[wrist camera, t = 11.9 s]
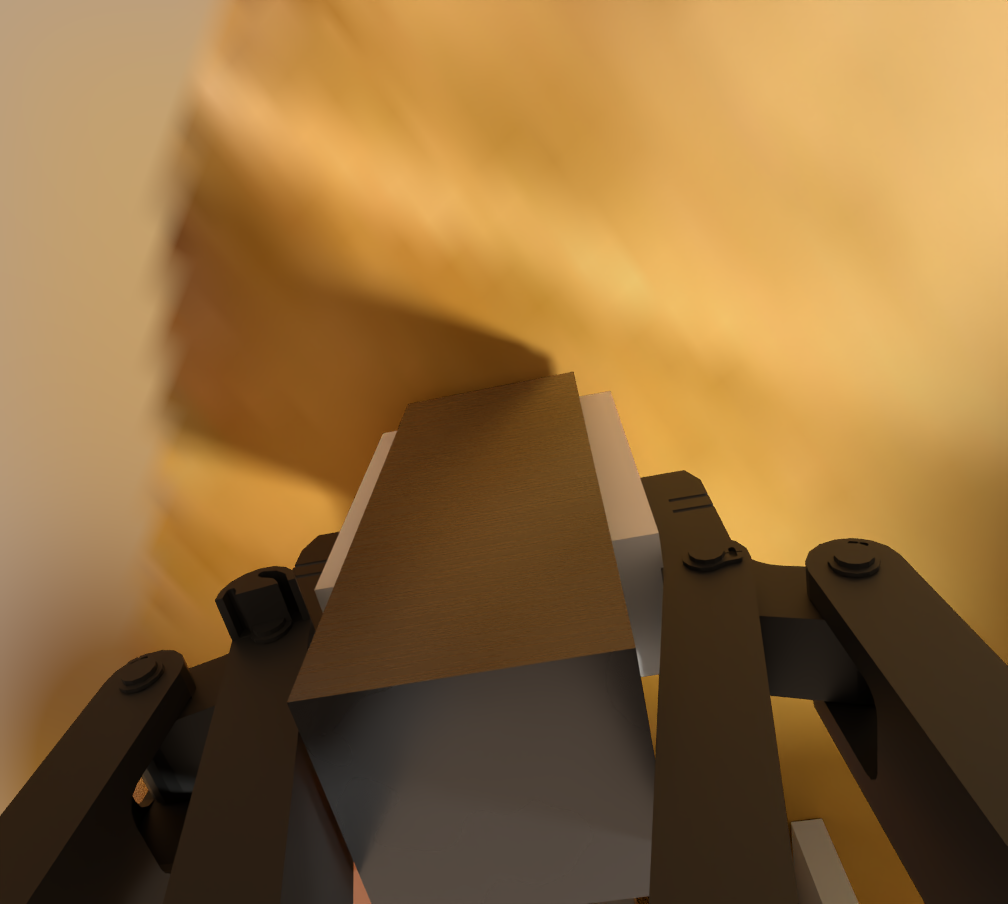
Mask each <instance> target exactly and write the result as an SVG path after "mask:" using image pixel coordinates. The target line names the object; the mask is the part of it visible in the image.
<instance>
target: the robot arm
mask: <svg viewBox="0 0 1008 904" xmlns="http://www.w3.org/2000/svg"><path fill="white" fill-rule="evenodd" d="M579 399H580V403H581V408H582V412H583V416H584V421H585V425H586V430H587V434H588V439H589V443H590V447H591V452H592V456H593V461H594V465H595V470H596V474H597V478H598V483H599V487H600V492H601V496H602V501H603V505H604V509H605V514H606V518H607V523H608V527H609V532H610V536H611V540H612V545H613V549H614V554H615V558H616V563H617V567H618V571H619V576H620V580H621V585H622V589H623V594H624V598H625V602H626V607H627V611H628V616H629V620H630V625H631V629H632V633H633V638H634V642H635V647H636V652H637V658H638V664H639V670H640V675H641V677H644V676H651V675H658V674H659V691H658V713H657V735H656V757H655V778H654V800H653V822H652V844H651V866H650V888H649V904H799V902H798V895H797V887H796V880H795V873H794V866H793V858H792V851H791V844H790V837H789V829H788V822H787V815H786V807H785V800H784V793H783V786H782V778H781V771H780V764H779V757H778V749H777V742H776V735H775V728H774V720H773V713H772V706H771V699H770V696H780V697H789V698H799V699H809V700H813V703H814V706H815V709H816V710H817V712H818V714H819V716H820V718H821V719H822V721H823V723H824V725H825V727H826V728H827V730H828V732H829V734H830V735H831V737H832V739H833V741H834V743H835V744H836V746H837V748H838V750H839V751H840V753H841V755H842V757H843V759H844V760H845V762H846V764H847V766H848V767H849V769H850V771H851V773H852V775H853V776H854V778H855V780H856V782H857V783H858V785H859V787H860V789H861V791H862V792H863V794H864V796H865V798H866V799H867V801H868V803H869V805H870V807H871V808H872V810H873V812H874V814H875V816H876V817H877V819H878V821H879V823H880V824H881V826H882V828H883V830H884V832H885V833H886V835H887V837H888V839H889V840H890V842H891V844H892V846H893V848H894V849H895V851H896V853H897V855H898V856H899V858H900V860H901V862H902V864H903V865H904V867H905V869H906V871H907V872H908V874H909V876H910V878H911V880H912V881H913V883H914V885H915V887H916V888H917V890H918V892H919V894H920V896H921V897H922V899H923V901H924V903H925V904H1008V666H1007V665H1006V664H1005V663H1004V662H1003V661H1002V660H1001V659H1000V658H999V656H998V655H997V654H996V653H995V652H994V651H993V650H992V649H991V648H990V647H989V646H988V645H987V644H986V643H985V642H984V641H983V640H982V639H981V638H980V637H979V636H978V635H977V634H976V633H975V632H974V631H973V630H972V629H971V628H970V626H969V625H968V624H967V623H966V622H965V621H964V620H963V619H962V618H961V617H960V616H959V615H958V614H957V613H956V612H955V611H954V610H953V609H952V608H951V607H950V606H949V605H948V604H947V603H946V602H945V601H944V600H943V599H942V597H941V596H940V595H939V594H938V593H937V592H936V591H935V590H934V589H933V588H932V587H931V586H930V585H929V584H928V583H927V582H926V581H925V580H924V579H923V578H922V577H921V576H920V575H919V574H918V573H917V572H916V571H915V570H914V568H913V567H912V566H911V565H910V564H909V563H908V562H907V561H906V560H905V559H904V558H903V557H902V556H901V555H900V554H899V553H897V552H896V551H894V550H893V549H891V548H890V547H888V546H886V545H883V544H880V543H877V542H874V541H871V540H864V539H854V538H849V539H838V540H832V541H829V542H826V543H823V544H819V545H818V546H817V547H815V548H814V549H813V550H811V551H810V552H809V554H808V556H807V558H806V561H805V565H806V567H801V566H779V565H770V564H765V563H761V562H757V561H755V560H752V559H751V556H750V554H749V552H748V550H747V548H745V547H744V546H742V545H741V544H739V543H738V542H736V541H733V540H731V539H730V537H729V535H728V533H727V531H726V529H725V527H724V525H723V523H722V521H721V519H720V517H719V515H718V513H717V511H716V509H715V507H714V506H713V503H712V501H711V499H710V497H709V496H708V495H707V492H706V490H705V488H704V486H703V484H702V482H701V480H700V479H698V478H697V477H695V476H693V475H691V474H690V473H688V472H686V471H685V470H683V471H677V472H671V473H665V474H660V475H654V476H648V477H642V478H640V476H639V473H638V471H637V468H636V465H635V462H634V459H633V456H632V453H631V450H630V447H629V444H628V441H627V438H626V435H625V432H624V429H623V427H622V424H621V421H620V418H619V415H618V412H617V409H616V406H615V403H614V400H613V397H612V394H611V391H608V392H602V393H597V394H591V395H586V396H581V397H579ZM396 433H397V431H393V432H387V433H383V435H382V437H381V439H380V442H379V444H378V446H377V448H376V451H375V453H374V455H373V457H372V460H371V462H370V464H369V467H368V469H367V471H366V473H365V476H364V478H363V480H362V483H361V485H360V487H359V489H358V492H357V494H356V496H355V498H354V501H353V503H352V505H351V508H350V510H349V512H348V514H347V517H346V519H345V521H344V524H343V526H342V528H341V530H340V532H336V533H330V534H324V535H319V536H317V537H316V538H315V539H314V540H313V541H312V542H311V543H310V544H309V545H308V546H306V547H305V548H304V549H303V550H302V552H301V554H300V556H299V558H298V560H297V562H296V564H295V568H293V570H290V569H288V568H287V567H278V566H273V567H267V568H262V569H258V570H255V571H253V572H250V573H247V574H245V575H243V576H241V577H239V578H238V579H236V580H234V581H232V582H231V583H230V584H228V585H227V586H226V587H225V588H224V589H222V590H221V591H220V593H219V594H218V596H217V598H216V599H215V602H216V604H217V607H218V609H219V611H220V614H221V616H222V618H223V620H224V623H225V625H226V627H227V629H228V632H229V634H230V636H231V639H232V644H231V648H230V652H229V654H226V655H224V656H222V657H219V658H217V659H214V660H211V661H208V662H206V663H203V664H200V665H197V666H195V667H192V668H188V666H187V664H186V662H185V660H184V658H183V656H182V654H180V653H178V652H176V651H174V650H161V651H157V652H153V653H148V654H145V655H142V656H140V657H139V658H138V657H137V658H135V659H133V660H131V661H130V662H128V663H127V664H126V665H125V666H123V667H122V668H120V669H119V670H117V671H116V672H115V673H114V674H113V675H112V676H111V677H110V678H109V679H108V680H107V681H106V682H105V683H104V684H103V686H102V687H101V688H100V690H99V691H98V692H97V693H96V695H95V696H94V697H93V698H92V700H91V701H90V702H89V703H88V705H87V706H86V707H85V709H84V710H83V711H82V713H81V714H80V715H79V716H78V717H77V719H76V720H75V721H74V723H73V724H72V725H71V726H70V728H69V729H68V730H67V731H66V733H65V734H64V735H63V737H62V738H61V739H60V741H59V742H58V743H57V744H56V746H55V747H54V748H53V749H52V751H51V752H50V753H49V755H48V756H47V757H46V759H45V760H44V761H43V762H42V764H41V765H40V766H39V767H38V768H37V770H36V771H35V772H34V774H33V775H32V776H31V777H30V779H29V780H28V781H27V783H26V784H25V785H24V786H23V788H22V789H21V790H20V791H19V793H18V794H17V795H16V797H15V798H14V799H13V800H12V802H11V803H10V804H9V806H8V807H7V808H6V809H5V811H4V812H3V813H2V814H1V816H0V904H353V879H354V861H353V859H352V856H351V854H350V852H349V849H348V847H347V844H346V842H345V840H344V837H343V835H342V833H341V830H340V828H339V825H338V823H337V821H336V818H335V816H334V814H333V811H332V809H331V806H330V804H329V802H328V799H327V797H326V795H325V792H324V790H323V787H322V785H321V783H320V780H319V778H318V776H317V773H316V771H315V768H314V766H313V764H312V761H311V759H310V757H309V754H308V752H307V749H306V747H305V745H304V742H303V740H302V737H301V735H300V733H299V730H298V728H297V726H296V723H295V721H294V718H293V716H292V714H291V711H290V709H289V707H288V704H287V701H288V698H289V696H290V693H291V691H292V689H293V686H294V684H295V681H296V679H297V676H298V674H299V671H300V669H301V666H302V664H303V661H304V659H305V657H306V654H307V652H308V649H309V647H310V644H311V642H312V639H313V637H314V634H315V632H316V629H317V627H318V625H319V622H320V620H321V617H322V615H323V612H324V610H325V607H326V605H327V602H328V600H329V597H330V595H331V593H332V590H333V588H334V585H335V583H336V580H337V578H338V575H339V573H340V570H341V568H342V565H343V563H344V561H345V558H346V556H347V553H348V551H349V548H350V546H351V543H352V541H353V538H354V536H355V533H356V531H357V529H358V526H359V524H360V521H361V519H362V516H363V514H364V511H365V509H366V506H367V504H368V502H369V499H370V497H371V494H372V492H373V489H374V487H375V484H376V482H377V479H378V477H379V474H380V472H381V470H382V467H383V465H384V462H385V460H386V457H387V455H388V452H389V450H390V447H391V445H392V442H393V440H394V438H395V435H396ZM141 777H142V779H143V781H144V782H145V784H146V786H147V788H148V790H149V791H148V792H147V794H146V796H145V798H144V799H143V801H142V802H141V803H140V804H137V803H136V802H135V800H134V798H133V796H132V795H133V793H134V790H135V788H136V785H137V783H138V782H139V780H140V778H141Z"/></svg>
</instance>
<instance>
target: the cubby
mask: <svg viewBox="0 0 1008 904" xmlns="http://www.w3.org/2000/svg"><path fill="white" fill-rule="evenodd" d="M791 832H792V849H793V866H794V873H795V880H796V887H797V895H798V902H799V904H859V903H858V900H857V898H856V896H855V893H854V891H853V889H852V886H851V884H850V882H849V880H848V877H847V875H846V873H845V870H844V868H843V866H842V863H841V861H840V859H839V857H838V854H837V852H836V850H835V847H834V845H833V843H832V841H831V838H830V836H829V834H828V831H827V829H826V827H825V824H824V822H823V820H822V819H813V820H805V821H797V822H791Z"/></svg>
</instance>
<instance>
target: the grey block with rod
mask: <svg viewBox="0 0 1008 904" xmlns="http://www.w3.org/2000/svg"><path fill="white" fill-rule="evenodd" d="M287 704H288V707H289V709H290V711H291V714H292V716H293V718H294V721H295V723H296V726H297V728H298V730H299V733H300V735H301V737H302V740H303V742H304V745H305V747H306V749H307V752H308V754H309V757H310V759H311V761H312V764H313V766H314V768H315V771H316V773H317V776H318V778H319V780H320V783H321V785H322V787H323V790H324V792H325V795H326V797H327V799H328V802H329V804H330V806H331V809H332V811H333V814H334V816H335V818H336V821H337V823H338V825H339V828H340V830H341V833H342V835H343V837H344V840H345V842H346V844H347V847H348V849H349V852H350V854H351V856H352V859H353V861H354V863H355V866H356V868H357V871H358V873H359V875H360V878H361V880H362V883H363V885H364V887H365V890H366V892H367V894H368V897H369V899H370V902H371V904H637V898H638V897H646V896H649V888H650V866H651V844H652V822H653V800H654V778H655V756H654V750H653V745H652V739H651V733H650V727H649V721H648V716H647V710H646V704H645V698H644V693H643V687H642V681H641V675H640V670H639V664H638V658H637V652H636V647H635V642H634V638H633V633H632V629H631V625H630V620H629V616H628V611H627V607H626V602H625V598H624V594H623V589H622V585H621V580H620V576H619V571H618V567H617V563H616V558H615V554H614V549H613V545H612V540H611V536H610V532H609V527H608V523H607V518H606V514H605V509H604V505H603V501H602V496H601V492H600V487H599V483H598V478H597V474H596V470H595V465H594V461H593V456H592V452H591V447H590V443H589V439H588V434H587V430H586V425H585V421H584V416H583V412H582V408H581V403H580V399H579V394H578V390H577V385H576V381H575V377H574V372H570V373H565V374H559V375H554V376H549V377H544V378H539V379H534V380H529V381H524V382H519V383H513V384H508V385H503V386H498V387H493V388H488V389H483V390H478V391H473V392H468V393H462V394H457V395H452V396H447V397H442V398H437V399H432V400H427V401H422V402H417V403H411V404H408V406H407V408H406V410H405V413H404V415H403V418H402V420H401V423H400V425H399V428H398V430H397V433H396V435H395V438H394V440H393V442H392V445H391V447H390V450H389V452H388V455H387V457H386V460H385V462H384V465H383V467H382V470H381V472H380V474H379V477H378V479H377V482H376V484H375V487H374V489H373V492H372V494H371V497H370V499H369V502H368V504H367V506H366V509H365V511H364V514H363V516H362V519H361V521H360V524H359V526H358V529H357V531H356V533H355V536H354V538H353V541H352V543H351V546H350V548H349V551H348V553H347V556H346V558H345V561H344V563H343V565H342V568H341V570H340V573H339V575H338V578H337V580H336V583H335V585H334V588H333V590H332V593H331V595H330V597H329V600H328V602H327V605H326V607H325V610H324V612H323V615H322V617H321V620H320V622H319V625H318V627H317V629H316V632H315V634H314V637H313V639H312V642H311V644H310V647H309V649H308V652H307V654H306V657H305V659H304V661H303V664H302V666H301V669H300V671H299V674H298V676H297V679H296V681H295V684H294V686H293V689H292V691H291V693H290V696H289V698H288V701H287Z"/></svg>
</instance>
